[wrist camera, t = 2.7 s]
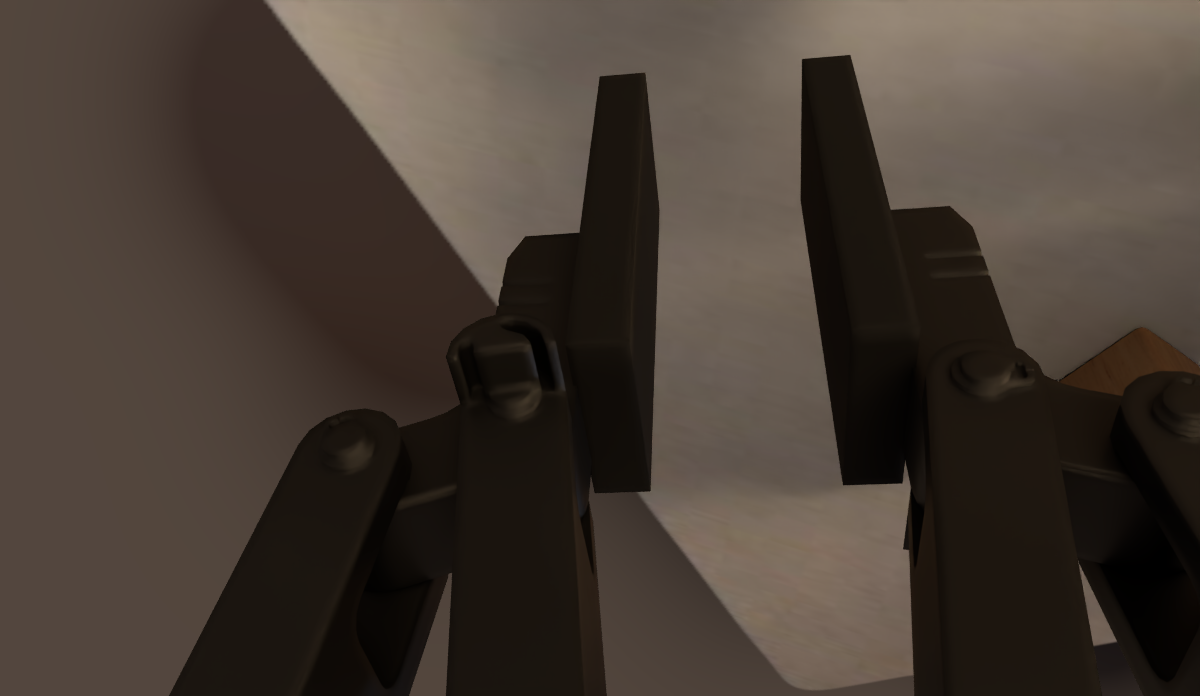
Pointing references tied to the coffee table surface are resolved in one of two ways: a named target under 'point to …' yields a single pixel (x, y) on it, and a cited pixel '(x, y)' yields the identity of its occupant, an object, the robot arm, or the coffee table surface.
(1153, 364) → the wooden block
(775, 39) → the coffee table surface
